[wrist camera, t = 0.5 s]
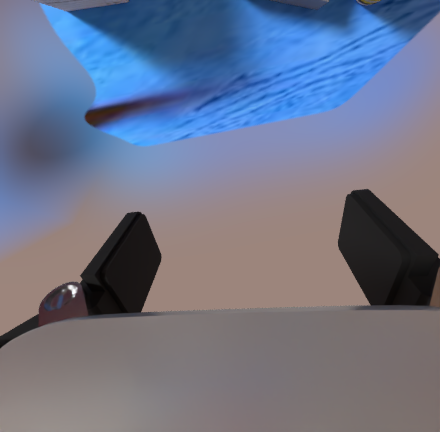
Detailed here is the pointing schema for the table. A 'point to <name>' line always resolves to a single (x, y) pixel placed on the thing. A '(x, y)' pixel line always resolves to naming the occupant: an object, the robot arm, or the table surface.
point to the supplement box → (79, 3)
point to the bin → (305, 3)
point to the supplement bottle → (367, 2)
